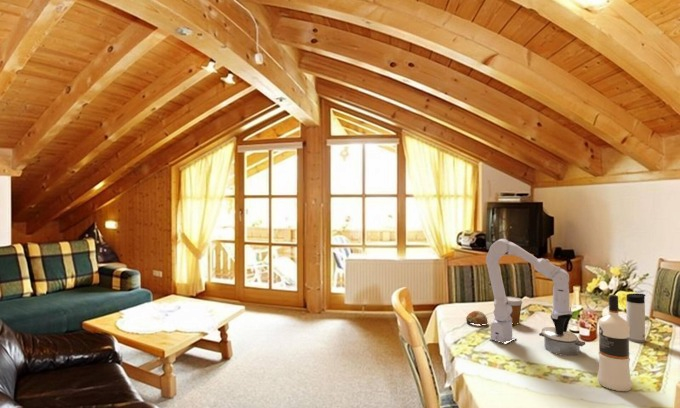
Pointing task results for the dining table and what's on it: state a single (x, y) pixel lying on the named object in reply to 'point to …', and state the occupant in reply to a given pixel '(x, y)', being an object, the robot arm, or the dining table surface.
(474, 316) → the bread roll
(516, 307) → the disposable coffee cup
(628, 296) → the travel mug
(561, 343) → the pot
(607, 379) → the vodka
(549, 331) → the lid
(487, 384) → the dining table surface
